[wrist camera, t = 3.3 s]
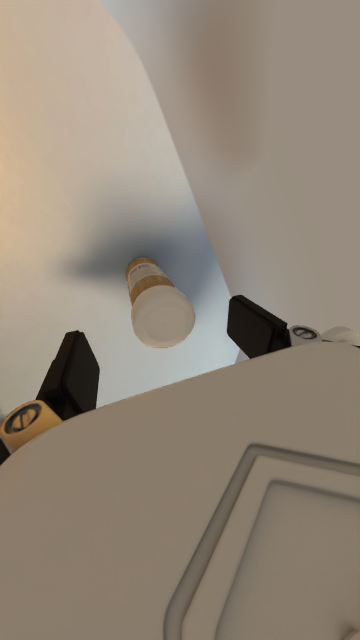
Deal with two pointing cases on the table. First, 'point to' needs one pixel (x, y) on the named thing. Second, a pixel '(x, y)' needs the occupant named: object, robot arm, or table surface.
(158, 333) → the sprinkles bottle
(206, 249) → the table surface
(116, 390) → the table surface
